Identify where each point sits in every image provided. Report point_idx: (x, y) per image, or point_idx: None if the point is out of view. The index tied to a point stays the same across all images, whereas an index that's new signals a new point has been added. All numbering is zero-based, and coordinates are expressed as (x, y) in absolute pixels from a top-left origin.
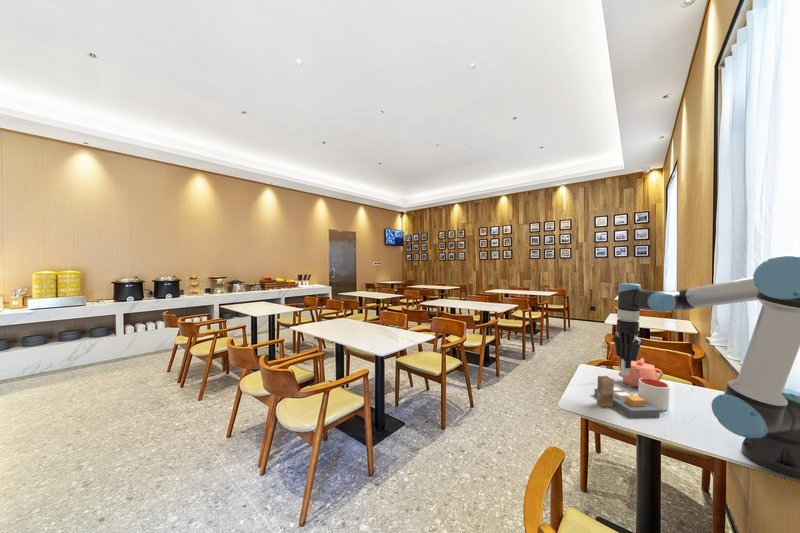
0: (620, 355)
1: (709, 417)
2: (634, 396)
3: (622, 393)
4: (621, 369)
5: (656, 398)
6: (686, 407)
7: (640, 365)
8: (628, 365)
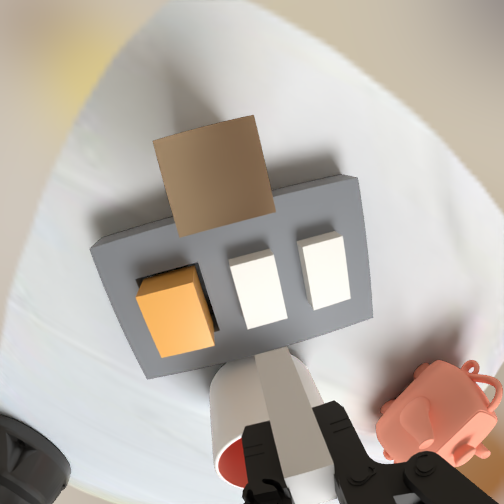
0: (373, 490)
1: (208, 474)
2: (199, 330)
3: (266, 293)
4: (291, 378)
5: (212, 412)
6: None
7: (454, 449)
8: (245, 459)
